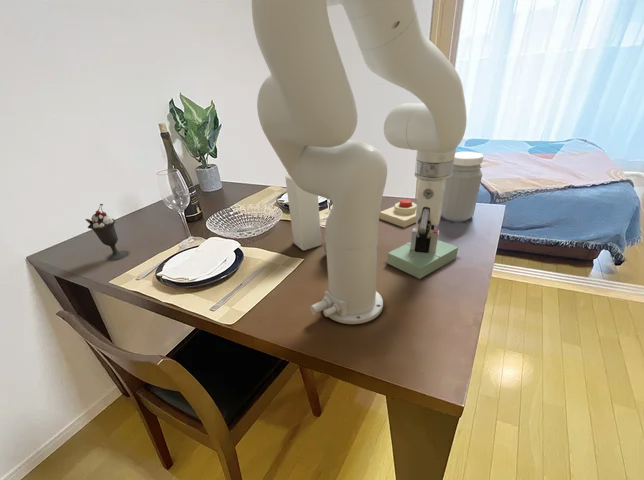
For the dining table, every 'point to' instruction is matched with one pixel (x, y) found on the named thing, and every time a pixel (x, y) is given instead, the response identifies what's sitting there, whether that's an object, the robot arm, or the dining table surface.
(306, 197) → the milk
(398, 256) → the panel
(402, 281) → the dining table surface
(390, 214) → the button box
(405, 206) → the button
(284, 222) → the dining table surface
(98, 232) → the sundae
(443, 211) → the jar
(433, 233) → the grey rectangular block
